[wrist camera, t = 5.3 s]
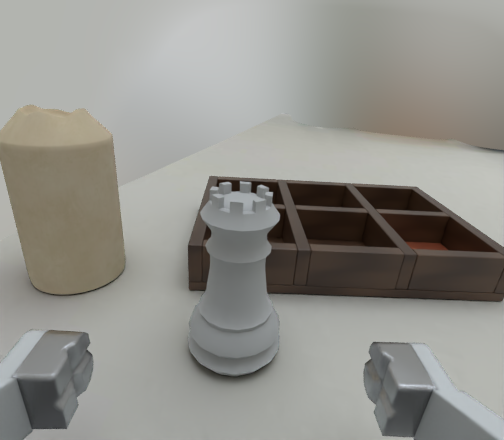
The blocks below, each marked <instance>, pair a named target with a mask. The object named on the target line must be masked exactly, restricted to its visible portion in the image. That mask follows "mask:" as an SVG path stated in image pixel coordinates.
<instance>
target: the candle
mask: <svg viewBox="0 0 504 440" xmlns="http://www.w3.org/2000/svg"><path fill="white" fill-rule="evenodd" d="M0 161H1V165H2V170H3V174H4V177H5V182H6V186H7V190H8V194H9V198H10V202H11V206H12V210H13V214H14V218H15V222H16V227H17V231H18V235H19V239H20V243H21V247H22V251H23V255H24V259H25V263H26V267H27V271H28V274H29V278H30V280H31V282H32V284H33V286H34V287H36V288H37V289H38V290H40V291H43V292H46V293H50V294H60V295H62V294H76V293H82V292H86V291H90V290H94V289H96V288H99V287H101V286H104V285H106V284H108V283H109V282H111V281H113V280H114V279H115V278H117V277H118V276H119V275H120V274H121V273H122V271H123V269H124V267H125V250H124V240H123V231H122V221H121V212H120V202H119V193H118V184H117V174H116V165H115V155H114V146H113V138H112V134H111V133H110V132H109V131H108V130H107V129H106V128H105V127H104V126H103V125H102V124H100V123H99V122H98V121H97V120H96V119H94V118H93V117H92V116H91V115H90V114H89V113H88V111H87V110H86V109H77V110H75V111H73V112H72V113H69V112H64V111H61V110H57V109H41V108H39V107H37V106H34V105H27V106H24V107H23V108H20V109H18V110H17V111H16V113H15V114H14V115H13V117H12V118H11V119H10V120H9V121H8V122H7V124H6V125H5V126H4V127H3V128H2V130H1V131H0Z"/></svg>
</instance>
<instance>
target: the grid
mask: <svg viewBox="0 0 504 440" xmlns="http://www.w3.org/2000/svg"><path fill="white" fill-rule="evenodd" d="M240 181H242V182H251V193H255V194H257V186H259V185H263V186H266V187H268V188H269V192H273V198H272V203H273V205H274V206H275V208H276V209H277V211H278V212H279V214H280V220H279V222H278V223H277V224H276V225H275V226H274V227H273V228H272V229H271V230H270V231H269V232H268V233H267V240H268V242H269V243H270V245H271V246H272V247H271V253H270V254H269V255H268V256H267V257H266V262H265V273H266V288H267V293H294V294H321V295H348V296H375V297H402V298H429V299H456V300H483V301H503V298H504V247H502V246H501V245H499V244H498V243H497V242H495V241H494V240H492V239H491V238H489V237H488V236H487V235H485V234H484V233H482V232H481V231H479V230H478V229H476V228H475V227H474V226H472V225H471V224H469V223H468V222H466V221H465V220H464V219H462V218H461V217H459V216H458V215H456V214H455V213H453V212H452V211H451V210H449V209H448V208H446V207H445V206H443V205H442V204H441V203H439V202H438V201H436V200H435V199H433V198H432V197H430V196H429V195H428V194H426V193H425V192H423V191H422V190H420V189H419V188H418V187H409V186H391V185H372V184H350V183H333V182H314V181H295V180H276V179H256V178H237V177H218V176H210V177H209V180H208V183H207V186H206V190H205V193H204V196H203V199H202V202H201V206H200V209H199V212H198V215H197V218H196V221H195V225H194V228H193V231H192V234H191V237H190V241H189V244H188V272H189V289H190V290H206V287H207V281H208V275H209V269H210V254H209V253H208V252H207V249H206V246H205V245H206V243H207V241H208V239H209V238H210V237H211V234H212V233H211V229H210V228H209V227H208V226H207V224H206V223H205V222H204V221H203V219H202V217H201V214H200V212H201V210H202V209H203V207H204V206H205V205H206V204H207V202H208V201H209V200H210V189H211V187H212V186H214V187H219V183H224V182H230V183H231V184H232V188H231V192H236V191H240Z"/></svg>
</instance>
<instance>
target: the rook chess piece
mask: <svg viewBox="0 0 504 440" xmlns="http://www.w3.org/2000/svg"><path fill="white" fill-rule="evenodd" d="M231 188H232V184H231V183H230V182H224V183H219V187H214V186H212V187H211V189H210V200H209V201H208V202H207V204H206V205H205V206H204V207H203V209H202V210H201V212H200V214H201V217H202V219H203V221H204V222H205V223H206V224H207V226H208V227H209V228H210V229H211V233H212V234H211V237H210V238H209V239H208V241H207V243H206V245H205V246H206V249H207V252H208V253H209V254H210V269H209V275H208V281H207V287H206V291H205V293H204V294H202V296H201V298H200V301H199V303H198V304H197V305H196V306H195V309H194V311H193V313H192V316H191V318H190V321H189V326H190V333H189V335H188V342H189V349H190V352H191V353H192V354H193V355H194V357H195V358H196V359H197V361H198V362H199V363H200V364H202V365H203V366H205V367H206V368H208V369H210V370H212V371H214V372H216V373H218V374H222V375H229V376H240V375H245V374H250V373H253V372H254V371H256V370H258V369H259V368H261V367H263V366H264V365H266V364H268V363H269V362H271V360H272V359H273V357H274V356H275V354H276V353H277V351H278V350H279V325H280V321H279V317H278V314H277V313H276V311H275V309H274V307H273V303H272V301H271V299H270V297H269V296H268V294H267V288H266V273H265V262H266V257H267V256H268V255H269V254H270V253H271V247H272V246H271V245H270V243H269V242H268V240H267V233H268V232H269V231H270V230H271V229H272V228H273V227H274V226H275V225H276V224H277V223H278V222H279V220H280V214H279V212H278V211H277V209H276V208H275V206H274V205H273V203H272V198H273V192H269V188H268V187H266V186H263V185H259V186H257V194H255V193H251V182H242V181H240V191H236V192H231Z"/></svg>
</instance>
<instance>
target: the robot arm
mask: <svg viewBox="0 0 504 440" xmlns="http://www.w3.org/2000/svg"><path fill="white" fill-rule="evenodd" d="M89 344H90V340H89V335H88V333H85V332H73V331H56V330H49V331H48V330H33V329H31V330H29V331H27V332H26V333H25V334H24V335H23V336H22V337H21V338H20V340H19V341H18V342H17V343H16V344H15V346H14V347H13V348H12V349H11V350H10V352H9V353H8V354H7V355H6V356H5V358H4V359H3V360H2V361H1V362H0V440H23V439H24V438H25V437H26V436H28V435H29V434H30V433H31V432H32V429H67V427H68V425H69V423H70V421H71V419H72V417H73V415H74V413H75V411H76V409H77V407H78V400H77V397H78V396H79V395H80V394H81V393H83V392H84V391H85V390H86V389H87V387H88V384H89V382H90V380H91V376H92V372H93V356H92V354H91V353H90V352H89V351H88V350H87V348H88V346H89ZM369 354H370V356H371V359H370V360H369V361H368V362H367V363H365V368H364V386H365V390H366V393H367V396H368V398H369V399H370V400H371V401H372V402H373V403H374V404H376V407H375V410H374V415H375V417H376V420H377V422H378V425H379V428H380V430H381V433H382V436H396V437H414V440H504V419H503V418H501V417H500V416H499V415H497V414H496V413H494V412H493V411H492V410H490V409H489V408H487V407H486V406H484V405H483V404H482V403H480V402H479V401H477V400H476V399H474V398H473V397H472V396H470V395H469V394H467V393H466V392H464V391H458V389H457V388H456V386H455V385H454V383H453V382H452V380H451V379H450V377H449V376H448V374H447V373H446V371H445V370H444V368H443V367H442V365H441V364H440V362H439V361H438V359H437V358H436V356H435V355H434V353H433V352H432V350H431V349H430V348H429V346H428V345H426V344H425V343H394V342H373V343H372V344H371V346H370V349H369Z"/></svg>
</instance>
